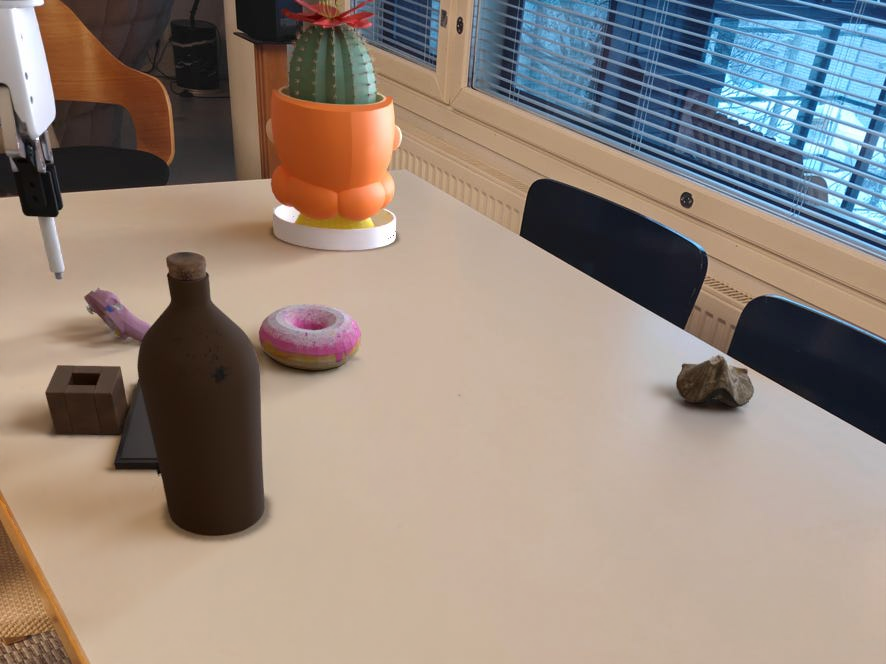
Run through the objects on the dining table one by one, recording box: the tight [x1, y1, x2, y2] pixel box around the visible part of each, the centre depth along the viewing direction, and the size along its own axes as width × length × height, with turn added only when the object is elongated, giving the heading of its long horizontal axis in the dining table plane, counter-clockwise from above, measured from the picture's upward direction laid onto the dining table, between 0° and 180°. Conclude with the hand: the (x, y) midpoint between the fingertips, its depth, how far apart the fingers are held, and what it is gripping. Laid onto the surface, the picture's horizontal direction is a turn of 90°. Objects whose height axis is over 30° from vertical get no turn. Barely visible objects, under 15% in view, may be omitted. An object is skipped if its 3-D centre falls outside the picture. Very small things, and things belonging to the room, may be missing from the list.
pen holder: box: [44, 364, 129, 435], centre depth 100 cm, size 7×7×5 cm
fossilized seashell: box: [675, 354, 755, 408], centre depth 119 cm, size 8×7×10 cm
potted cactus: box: [265, 0, 403, 251], centre depth 145 cm, size 22×22×35 cm
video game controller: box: [83, 286, 152, 343], centre depth 118 cm, size 10×5×7 cm, turn 42°
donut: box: [258, 303, 362, 371], centre depth 119 cm, size 14×13×5 cm
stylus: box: [31, 147, 66, 280], centre depth 87 cm, size 1×1×12 cm
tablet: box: [113, 377, 158, 470], centre depth 103 cm, size 11×20×1 cm, turn 9°
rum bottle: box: [137, 251, 265, 537], centre depth 82 cm, size 11×11×25 cm
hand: (43, 211), depth 87 cm, fingers closed on stylus, 1 cm apart
